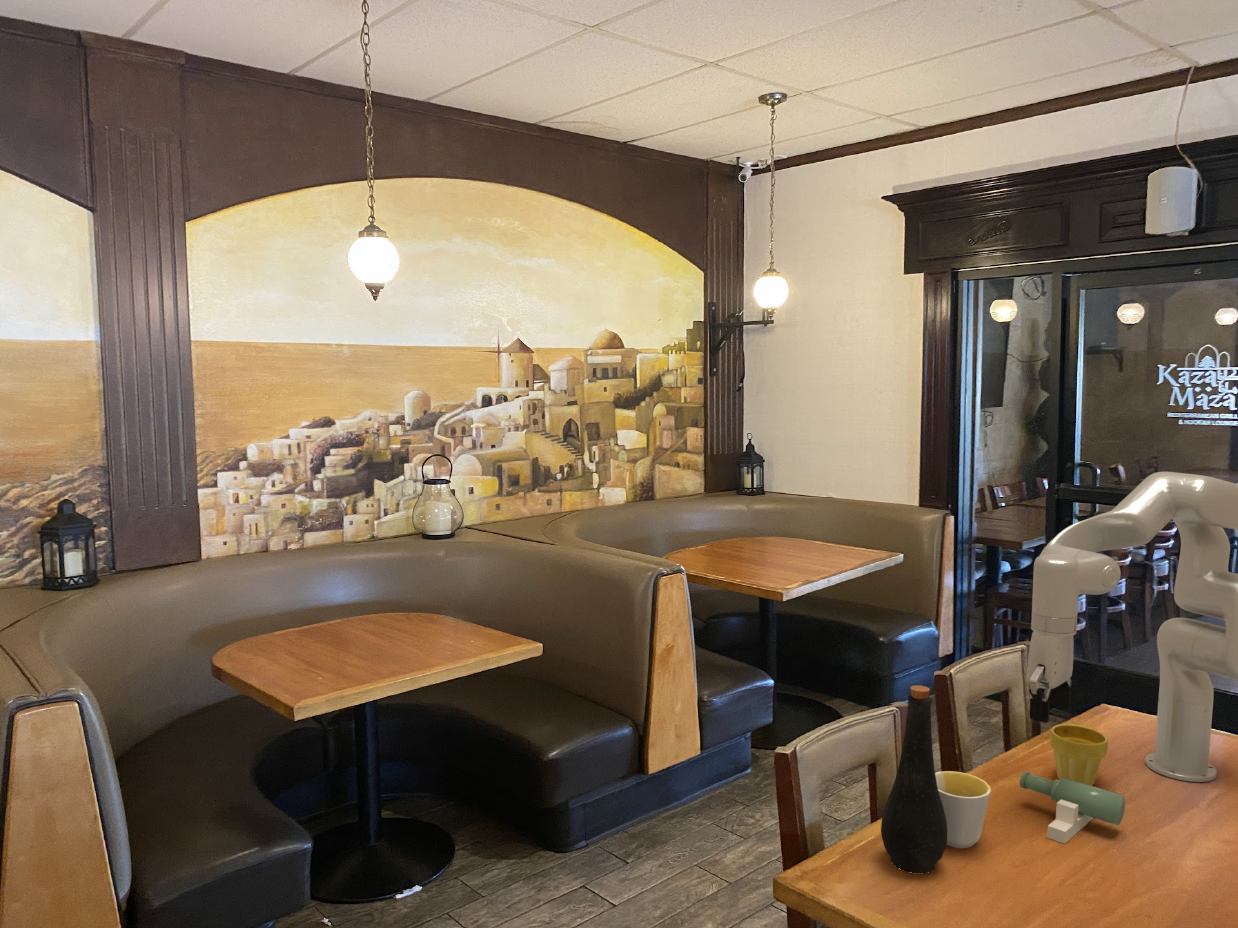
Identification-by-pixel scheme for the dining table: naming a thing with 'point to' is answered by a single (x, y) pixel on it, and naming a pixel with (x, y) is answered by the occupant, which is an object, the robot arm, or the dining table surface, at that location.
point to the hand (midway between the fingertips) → (1049, 713)
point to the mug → (963, 806)
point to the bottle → (915, 796)
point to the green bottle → (1079, 796)
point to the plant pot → (1078, 752)
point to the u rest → (1066, 822)
